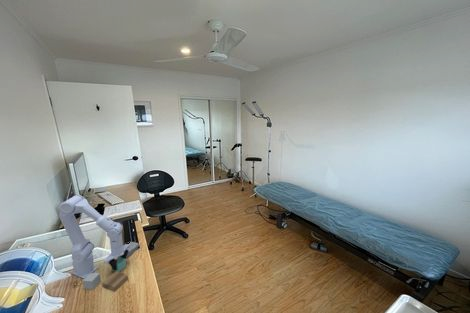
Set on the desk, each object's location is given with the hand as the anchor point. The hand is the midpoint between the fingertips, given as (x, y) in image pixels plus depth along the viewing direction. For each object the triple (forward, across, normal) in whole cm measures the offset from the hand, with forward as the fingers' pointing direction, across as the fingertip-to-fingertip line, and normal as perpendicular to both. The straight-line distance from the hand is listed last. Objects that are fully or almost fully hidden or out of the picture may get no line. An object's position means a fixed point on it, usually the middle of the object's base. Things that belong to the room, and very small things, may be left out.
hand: (119, 266), depth 108 cm
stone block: (+2, +12, +8) cm, 15 cm away
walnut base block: (+2, -8, -7) cm, 11 cm away
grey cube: (+2, -13, +3) cm, 13 cm away
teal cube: (+1, 0, 0) cm, 1 cm away
